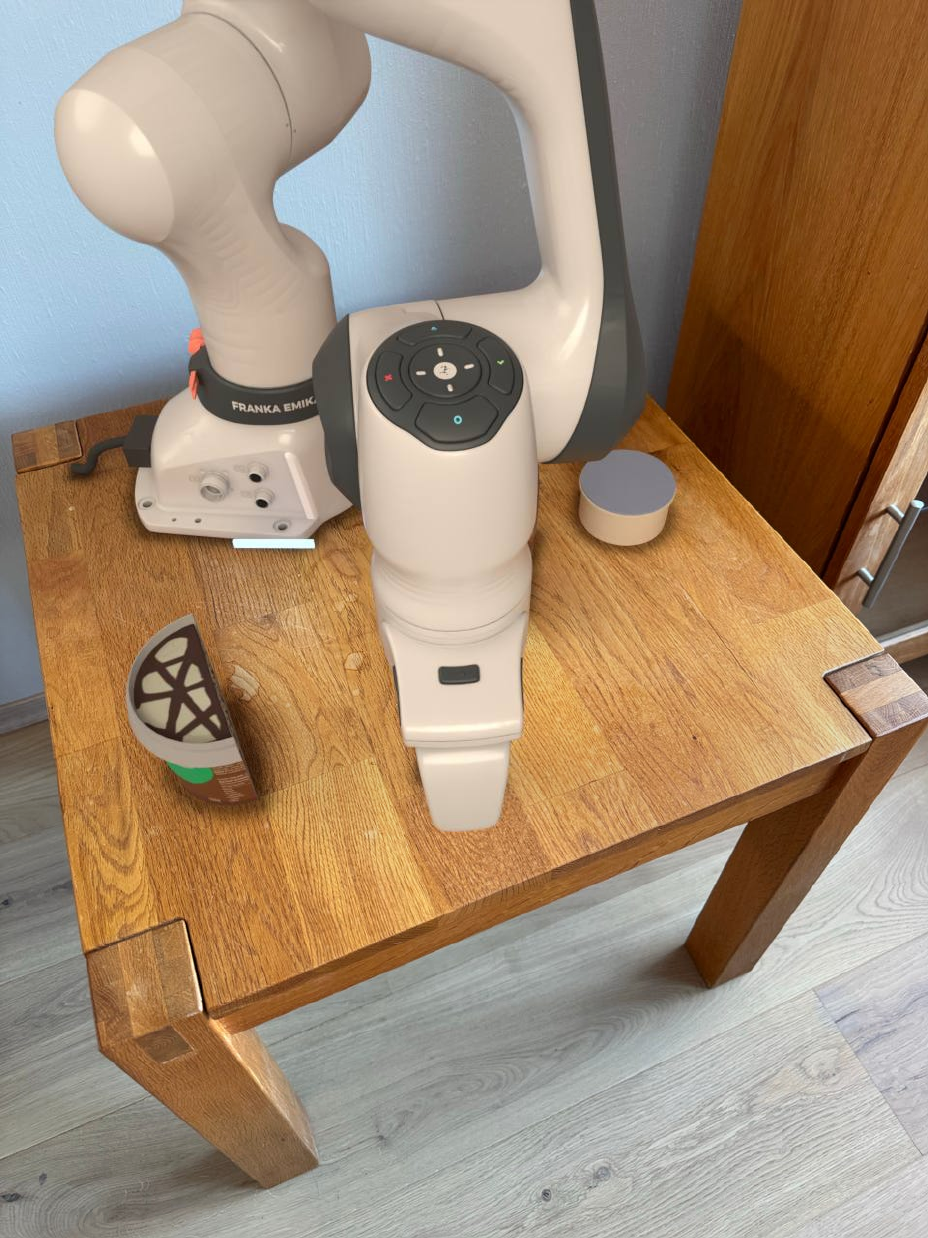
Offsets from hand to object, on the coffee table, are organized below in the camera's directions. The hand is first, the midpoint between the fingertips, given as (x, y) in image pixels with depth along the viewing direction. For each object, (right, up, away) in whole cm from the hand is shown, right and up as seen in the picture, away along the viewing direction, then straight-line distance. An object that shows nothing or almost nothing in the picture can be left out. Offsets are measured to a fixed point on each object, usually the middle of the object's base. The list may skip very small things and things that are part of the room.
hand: (456, 731), depth 63 cm
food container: (-19, -3, +6) cm, 20 cm away
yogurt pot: (+15, +17, +22) cm, 32 cm away
